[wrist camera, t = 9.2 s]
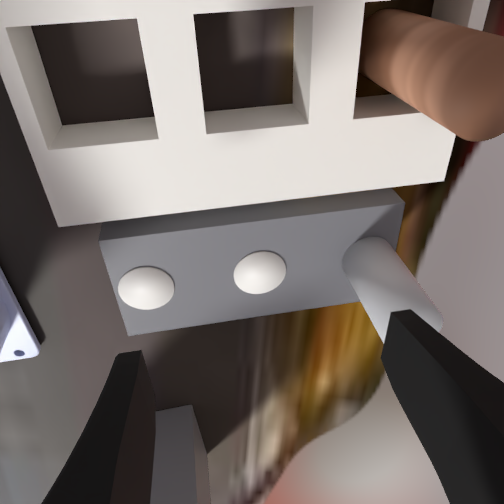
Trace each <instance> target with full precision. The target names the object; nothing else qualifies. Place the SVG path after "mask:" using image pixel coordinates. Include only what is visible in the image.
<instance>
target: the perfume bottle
mask: <svg viewBox="0 0 504 504" xmlns="http://www.w3.org/2000/svg"><path fill="white" fill-rule="evenodd" d="M155 414H156V436H155V450H154V462H153V474H152V487H151V499H150V504H211V498H210V485H209V473H208V460H207V453H206V450H205V446H204V443H203V440H202V436H201V433H200V430H199V427H198V423H197V420H196V417H195V413H194V410H193V407H192V404H191V405H186V406H181V407H176V408H171V409H166V410H161V411H156V412H155Z"/></svg>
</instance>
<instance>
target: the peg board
mask: <svg viewBox="0 0 504 504" xmlns="http://www.w3.org/2000/svg"><path fill="white" fill-rule="evenodd" d="M375 1H389V0H0V74H1V77H2V79H3V82H4V84H5V87H6V90H7V92H8V95H9V98H10V100H11V103H12V106H13V108H14V111H15V114H16V116H17V119H18V121H19V124H20V127H21V129H22V132H23V135H24V137H25V140H26V143H27V145H28V148H29V151H30V153H31V156H32V158H33V161H34V164H35V166H36V169H37V172H38V174H39V177H40V180H41V182H42V185H43V188H44V190H45V193H46V196H47V198H48V201H49V203H50V206H51V209H52V211H53V214H54V217H55V219H56V222H57V225H58V227H65V226H73V225H82V224H90V223H98V222H107V221H115V220H123V219H132V218H140V217H148V216H157V215H165V214H173V213H182V212H190V211H199V210H207V209H215V208H224V207H232V206H240V205H249V204H257V203H265V202H274V201H282V200H290V199H299V198H307V197H315V196H324V195H332V194H340V193H349V192H357V191H365V190H374V189H382V188H390V187H399V186H407V185H415V184H424V183H432V182H440V181H444V179H445V175H446V171H447V167H448V163H449V159H450V156H451V152H452V148H453V144H454V140H455V136H456V134H454V133H453V132H451V131H450V130H448V129H446V128H445V127H443V126H442V125H440V124H439V123H437V122H435V121H434V120H432V119H431V118H429V117H428V116H426V115H425V114H423V113H421V112H420V111H418V110H417V109H415V108H414V107H412V106H410V105H409V104H407V103H406V102H404V101H403V100H401V99H400V98H398V97H396V96H395V95H393V94H388V95H378V96H367V97H357V98H355V94H356V85H357V75H358V65H359V55H360V46H361V36H362V26H363V16H364V7H365V2H375ZM489 3H490V0H434V4H433V9H432V14H431V18H434V19H438V20H442V21H446V22H449V23H453V24H457V25H461V26H465V27H468V28H472V29H476V30H480V31H482V30H483V27H484V23H485V19H486V15H487V11H488V7H489ZM289 7H294V47H293V104H283V105H272V106H262V107H251V108H241V109H230V110H220V111H209V112H204V108H203V99H202V90H201V81H200V72H199V62H198V53H197V44H196V35H195V26H194V17H193V14H204V13H218V12H232V11H246V10H261V9H275V8H289ZM132 18H137V21H138V27H139V32H140V38H141V44H142V49H143V55H144V60H145V66H146V71H147V77H148V82H149V88H150V93H151V99H152V104H153V110H154V115H155V117H146V118H136V119H125V120H115V121H104V122H94V123H83V124H73V125H62V123H61V120H60V117H59V114H58V110H57V107H56V104H55V101H54V98H53V95H52V91H51V88H50V85H49V82H48V79H47V76H46V72H45V69H44V66H43V63H42V60H41V57H40V54H39V50H38V47H37V44H36V41H35V38H34V35H33V31H32V28H31V26H33V25H47V24H61V23H75V22H90V21H104V20H118V19H132Z"/></svg>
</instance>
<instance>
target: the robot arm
mask: <svg viewBox="0 0 504 504" xmlns="http://www.w3.org/2000/svg"><path fill="white" fill-rule="evenodd" d="M40 348H41V347H40V344H39V342H38V340H37V338H36V336H35V334H34V332H33V330H32V328H31V326H30V324H29V322H28V320H27V318H26V317H25V315H24V313H23V311H22V309H21V307H20V305H19V303H18V301H17V299H16V297H15V295H14V293H13V291H12V289H11V287H10V285H9V283H8V281H7V279H6V277H5V275H4V274H3V272H2V270H1V268H0V362H4V361H10V360H17V359H24V358H30V357H35V356H37V355H38V354H39V352H40ZM20 350H22V351H20ZM381 359H382V362H383V365H384V368H385V370H386V373H387V376H388V378H389V380H390V383H391V386H392V388H393V390H394V392H395V394H396V396H397V398H398V400H399V402H400V404H401V406H402V408H403V410H404V412H405V413H406V415H407V417H408V419H409V421H410V423H411V425H412V427H413V428H414V430H415V432H416V434H417V436H418V438H419V440H420V441H421V443H422V445H423V447H424V449H425V451H426V453H427V455H428V456H429V458H430V460H431V462H432V464H433V466H434V468H435V470H436V472H437V474H438V476H439V479H440V481H441V483H442V486H443V488H444V490H445V493H446V495H447V498H448V500H449V502H450V504H504V383H503V382H502V381H500V380H499V379H498V378H496V377H495V376H493V375H492V374H491V373H489V372H488V371H487V370H485V369H484V368H482V367H481V366H480V365H478V364H477V363H476V362H475V361H474V360H472V359H471V358H469V357H468V356H467V355H466V354H465V353H463V352H462V351H461V350H460V349H458V348H457V347H456V346H455V345H453V344H452V343H451V342H450V341H449V340H447V339H446V338H445V337H444V336H442V335H441V334H440V333H439V332H438V331H436V330H435V329H434V328H433V327H432V326H431V325H429V324H428V323H427V322H426V321H425V320H423V319H422V318H421V317H420V316H419V315H417V314H416V313H415V312H414V311H412V310H411V309H407V310H401V311H394V312H391V314H390V318H389V323H388V327H387V332H386V337H385V341H384V346H383V350H382V355H381ZM155 436H156V414H155V394H154V390H153V387H152V384H151V380H150V377H149V374H148V370H147V367H146V364H145V360H144V357H143V354H142V350H139V351H133V352H126V353H120V354H118V355H117V356H116V357H115V360H114V363H113V366H112V368H111V371H110V373H109V376H108V378H107V381H106V383H105V386H104V388H103V390H102V392H101V395H100V397H99V399H98V401H97V404H96V406H95V408H94V410H93V412H92V414H91V416H90V418H89V420H88V422H87V424H86V426H85V428H84V430H83V432H82V434H81V436H80V438H79V440H78V442H77V444H76V445H75V447H74V449H73V451H72V453H71V455H70V456H69V458H68V460H67V462H66V464H65V466H64V467H63V469H62V471H61V472H60V474H59V476H58V478H57V479H56V481H55V483H54V484H53V486H52V488H51V489H50V491H49V492H48V494H47V496H46V497H45V499H44V500H43V502H42V503H41V504H150V499H151V487H152V474H153V462H154V450H155Z"/></svg>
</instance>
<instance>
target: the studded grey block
mask: <svg viewBox="0 0 504 504" xmlns="http://www.w3.org/2000/svg"><path fill="white" fill-rule="evenodd" d="M404 206H405V202H404V201H403V200H402V199H401V198H400V197H399V196H398V194H397V193H396V192H395V191H394V190H393V189H392V188H387V189H379V190H371V191H362V192H354V193H346V194H337V195H329V196H321V197H312V198H304V199H296V200H287V201H279V202H271V203H262V204H254V205H246V206H237V207H229V208H221V209H212V210H204V211H196V212H187V213H179V214H171V215H162V216H154V217H146V218H137V219H129V220H121V221H112V222H104V223H102V227H101V231H100V235H99V240H98V242H99V245H100V248H101V251H102V255H103V258H104V261H105V264H106V267H107V270H108V273H109V277H110V280H111V283H112V286H113V289H114V292H115V295H116V299H117V302H118V305H119V308H120V311H121V314H122V317H123V321H124V324H125V327H126V330H127V333H128V336H131V335H138V334H144V333H151V332H158V331H165V330H171V329H178V328H185V327H191V326H198V325H205V324H212V323H218V322H225V321H232V320H238V319H245V318H252V317H259V316H265V315H272V314H279V313H285V312H292V311H299V310H306V309H312V308H319V307H326V306H332V305H339V304H346V303H353V302H359V301H361V303H362V305H363V306H364V308H365V310H366V312H367V314H368V316H369V317H370V319H371V321H372V323H373V325H374V327H375V328H376V330H377V332H378V334H379V336H380V338H381V339H382V341H383V343H384V341H385V337H386V332H387V327H388V323H389V318H390V314H391V312H394V311H401V310H407V309H411V310H412V311H414V312H415V313H416V314H417V315H419V316H420V317H421V318H422V319H423V320H425V321H426V322H427V323H428V324H429V325H431V326H432V327H433V328H434V329H435V330H436V331H438V332H440V330H441V328H442V326H443V316H442V314H441V312H440V311H439V310H438V308H437V307H436V306H435V304H434V303H433V302H432V301H431V299H430V298H429V296H428V295H427V294H426V293H425V291H424V290H423V288H422V287H421V286H420V284H419V283H418V282H417V280H416V279H415V278H414V276H413V275H412V274H411V272H410V271H409V269H408V268H407V267H406V265H405V264H404V263H403V261H402V260H401V259H400V257H399V256H398V255H397V253H396V252H395V251H396V246H397V241H398V236H399V231H400V226H401V221H402V216H403V211H404Z"/></svg>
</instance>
